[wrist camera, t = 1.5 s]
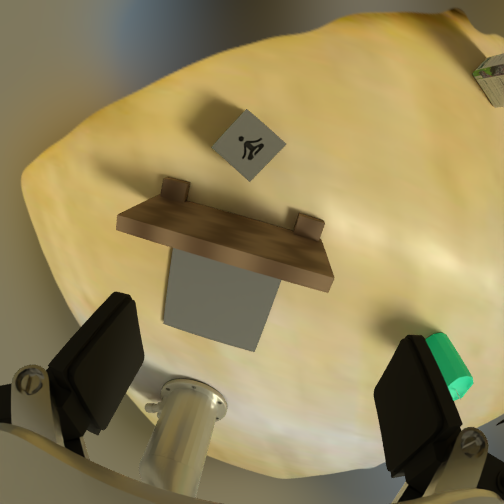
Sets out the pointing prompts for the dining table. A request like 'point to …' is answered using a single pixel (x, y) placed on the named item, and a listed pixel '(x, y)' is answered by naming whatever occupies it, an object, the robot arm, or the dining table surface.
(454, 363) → the candle
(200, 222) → the walnut screen
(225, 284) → the grey mat
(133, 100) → the dining table surface
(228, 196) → the dining table surface
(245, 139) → the dice cube
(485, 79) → the syrup box
